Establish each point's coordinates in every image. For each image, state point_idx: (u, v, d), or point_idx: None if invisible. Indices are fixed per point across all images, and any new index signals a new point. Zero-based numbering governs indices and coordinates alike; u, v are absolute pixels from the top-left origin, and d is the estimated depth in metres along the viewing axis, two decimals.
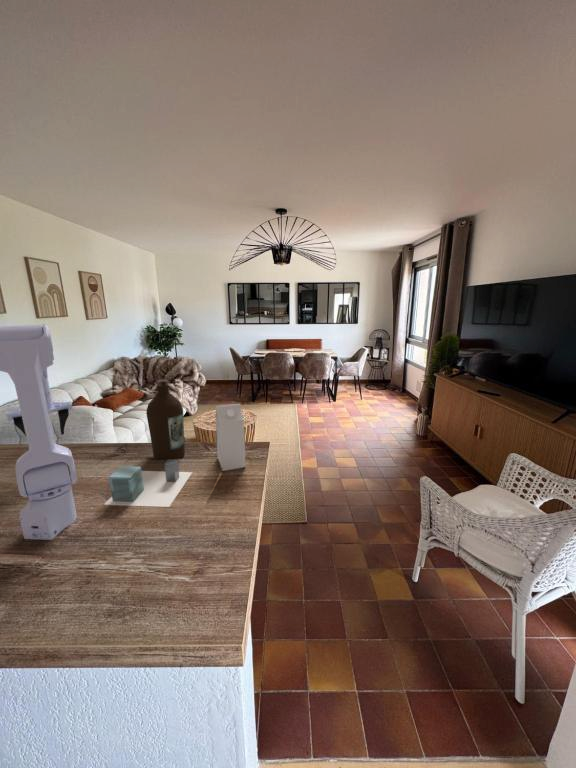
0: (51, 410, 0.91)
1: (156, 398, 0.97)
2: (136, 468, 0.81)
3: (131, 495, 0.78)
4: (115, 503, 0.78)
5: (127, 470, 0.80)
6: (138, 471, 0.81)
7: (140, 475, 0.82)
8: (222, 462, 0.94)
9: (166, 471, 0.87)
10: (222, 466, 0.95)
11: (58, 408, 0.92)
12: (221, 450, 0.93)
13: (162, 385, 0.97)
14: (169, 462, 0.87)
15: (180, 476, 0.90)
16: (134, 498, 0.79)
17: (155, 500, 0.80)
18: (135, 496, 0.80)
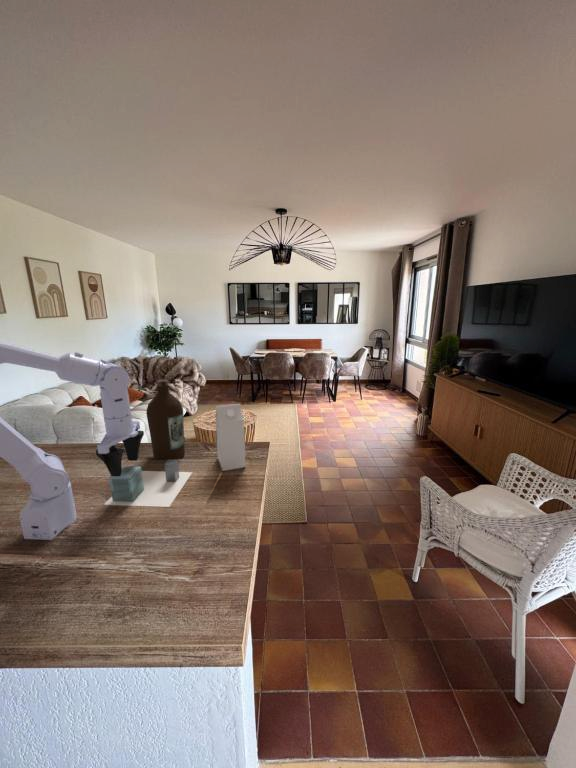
0: None
1: (156, 398, 0.97)
2: (136, 468, 0.81)
3: (131, 495, 0.78)
4: (115, 503, 0.78)
5: (127, 470, 0.80)
6: (138, 471, 0.81)
7: (140, 475, 0.82)
8: (222, 462, 0.94)
9: (166, 471, 0.87)
10: (222, 466, 0.95)
11: None
12: (221, 450, 0.93)
13: (162, 385, 0.97)
14: (169, 462, 0.87)
15: (180, 476, 0.90)
16: (134, 498, 0.79)
17: (155, 500, 0.80)
18: (135, 496, 0.80)
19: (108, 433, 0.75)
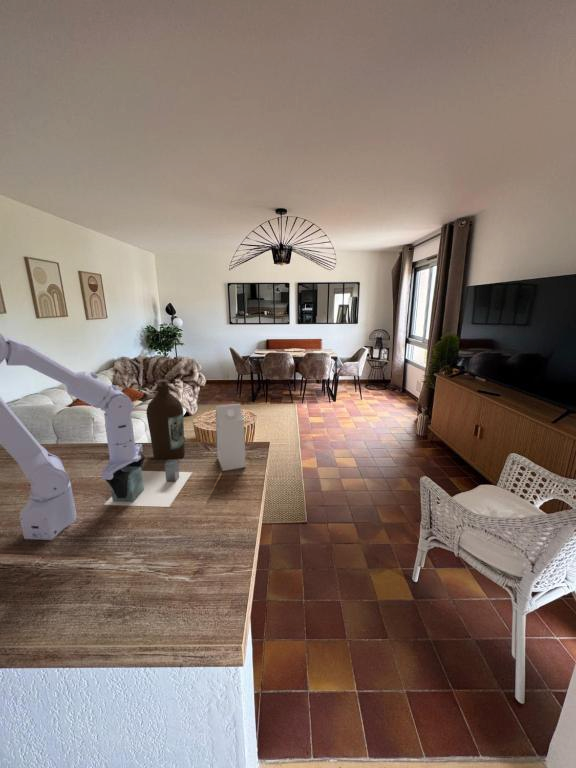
0: (108, 462, 0.77)
1: (156, 398, 0.97)
2: (136, 468, 0.81)
3: (131, 495, 0.78)
4: (115, 503, 0.78)
5: (127, 470, 0.80)
6: (138, 471, 0.81)
7: (140, 475, 0.82)
8: (222, 462, 0.94)
9: (166, 471, 0.87)
10: (222, 466, 0.95)
11: None
12: (221, 450, 0.93)
13: (162, 385, 0.97)
14: (169, 462, 0.87)
15: (180, 476, 0.90)
16: (134, 498, 0.79)
17: (155, 500, 0.80)
18: (135, 496, 0.80)
19: (112, 458, 0.76)
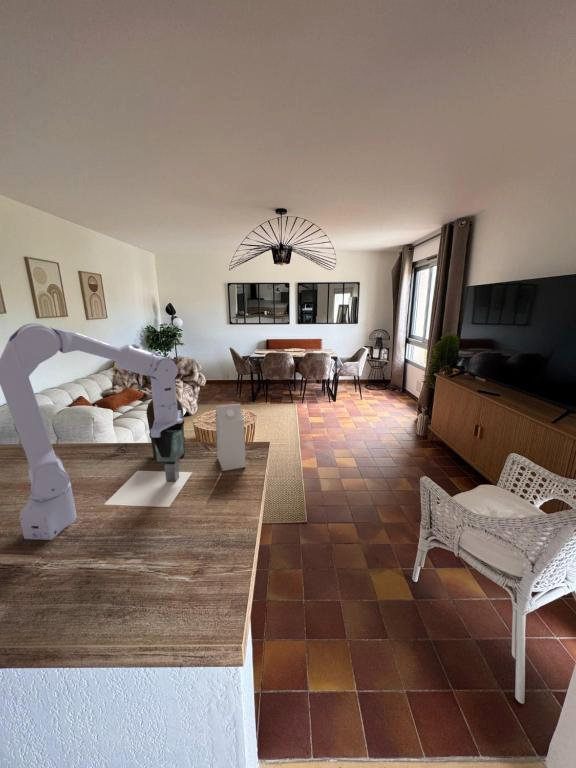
0: (153, 424, 0.82)
1: None
2: (178, 431, 0.87)
3: (174, 455, 0.84)
4: (115, 503, 0.78)
5: None
6: (180, 434, 0.87)
7: (181, 438, 0.88)
8: (222, 462, 0.94)
9: (166, 471, 0.87)
10: (222, 466, 0.95)
11: (153, 426, 0.81)
12: (221, 450, 0.93)
13: None
14: (169, 462, 0.87)
15: (180, 476, 0.90)
16: (177, 458, 0.85)
17: (155, 500, 0.80)
18: (177, 456, 0.85)
19: (157, 419, 0.82)
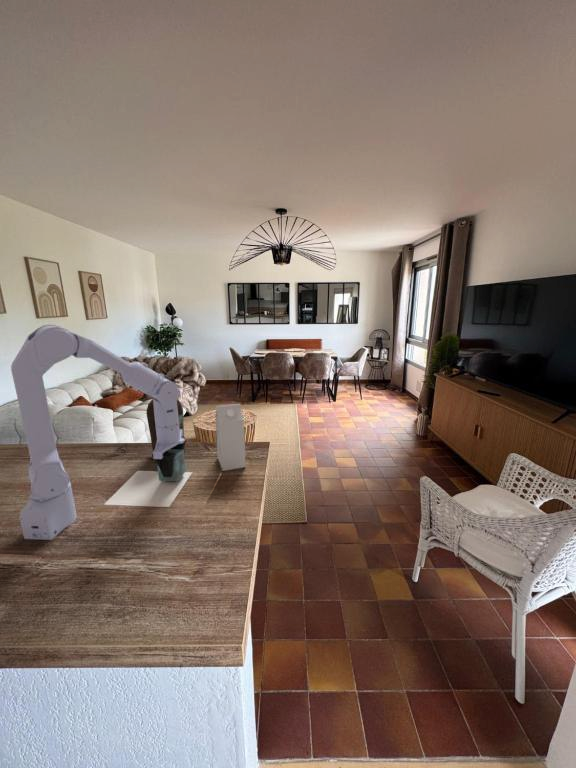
0: (156, 444, 0.84)
1: None
2: (180, 451, 0.88)
3: (176, 475, 0.85)
4: (115, 503, 0.78)
5: (172, 452, 0.87)
6: (181, 453, 0.88)
7: (183, 457, 0.89)
8: (222, 462, 0.94)
9: None
10: (222, 466, 0.95)
11: None
12: (221, 450, 0.93)
13: None
14: None
15: None
16: (179, 478, 0.86)
17: (155, 500, 0.80)
18: (179, 476, 0.87)
19: (160, 440, 0.83)
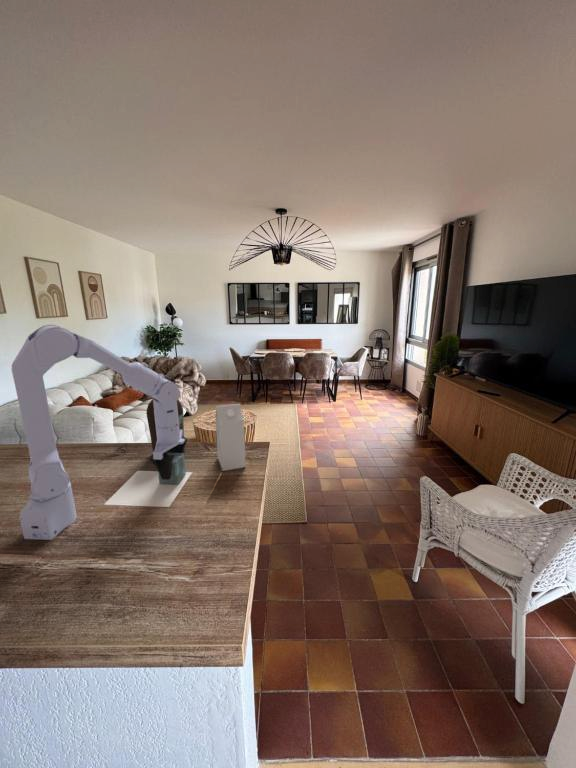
0: (156, 445, 0.84)
1: None
2: (180, 455, 0.88)
3: (176, 478, 0.86)
4: (115, 503, 0.78)
5: None
6: (182, 457, 0.88)
7: (183, 461, 0.89)
8: (222, 462, 0.94)
9: None
10: (222, 466, 0.95)
11: None
12: (221, 450, 0.93)
13: None
14: None
15: None
16: (179, 481, 0.86)
17: (155, 500, 0.80)
18: (179, 480, 0.87)
19: (160, 441, 0.83)
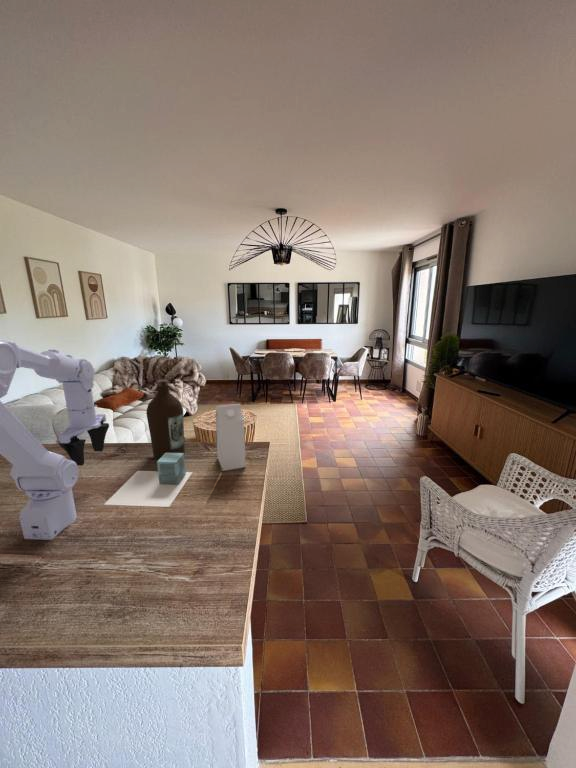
0: None
1: (156, 398, 0.97)
2: (180, 455, 0.88)
3: (176, 478, 0.86)
4: (115, 503, 0.78)
5: (172, 456, 0.88)
6: (182, 457, 0.88)
7: (183, 461, 0.89)
8: (222, 462, 0.94)
9: None
10: (222, 466, 0.95)
11: None
12: (221, 450, 0.93)
13: (162, 385, 0.97)
14: None
15: None
16: (179, 481, 0.86)
17: (155, 500, 0.80)
18: (179, 480, 0.87)
19: (71, 424, 0.79)
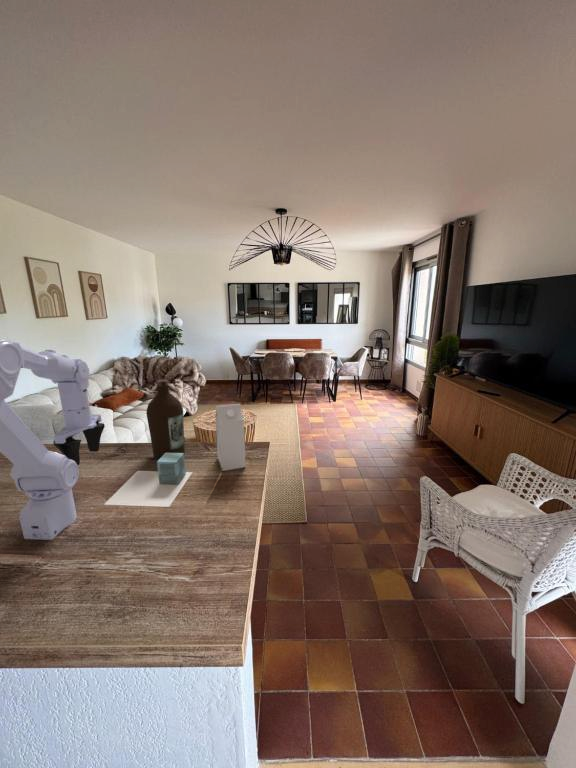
0: None
1: (156, 398, 0.97)
2: (180, 455, 0.88)
3: (176, 478, 0.86)
4: (115, 503, 0.78)
5: (172, 456, 0.88)
6: (182, 457, 0.88)
7: (183, 461, 0.89)
8: (222, 462, 0.94)
9: None
10: (222, 466, 0.95)
11: None
12: (221, 450, 0.93)
13: (162, 385, 0.97)
14: None
15: None
16: (179, 481, 0.86)
17: (155, 500, 0.80)
18: (179, 480, 0.87)
19: (66, 424, 0.79)
